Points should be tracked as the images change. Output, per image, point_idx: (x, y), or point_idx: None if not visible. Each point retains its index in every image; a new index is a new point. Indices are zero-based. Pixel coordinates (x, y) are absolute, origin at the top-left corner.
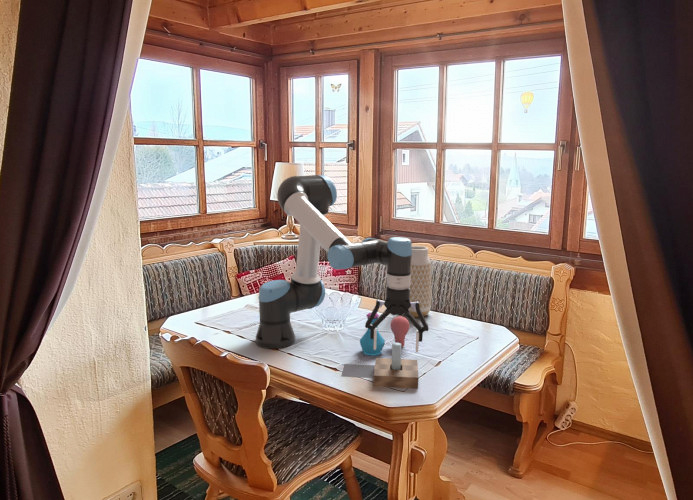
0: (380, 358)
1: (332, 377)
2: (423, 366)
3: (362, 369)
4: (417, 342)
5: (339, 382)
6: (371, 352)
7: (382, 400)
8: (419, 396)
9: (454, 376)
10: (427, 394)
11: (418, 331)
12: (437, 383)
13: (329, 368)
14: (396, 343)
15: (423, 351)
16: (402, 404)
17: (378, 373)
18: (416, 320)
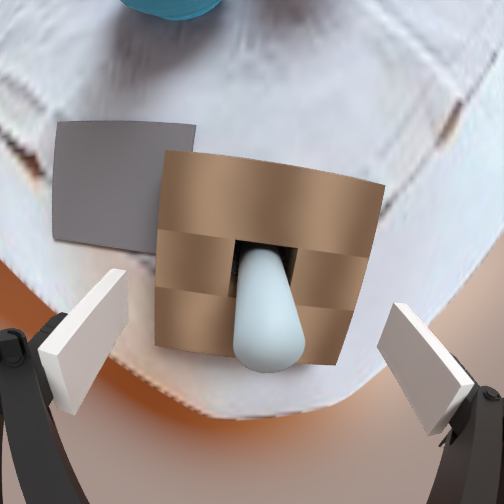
0: (189, 158)
1: (33, 236)
2: (397, 138)
3: (120, 171)
4: (406, 385)
5: (56, 275)
6: (170, 17)
7: (197, 393)
8: (315, 376)
9: (467, 240)
10: (343, 364)
11: (456, 408)
12: (402, 293)
13: (19, 161)
14: (270, 332)
15: (411, 4)
16: (253, 411)
17: (173, 331)
18: (498, 458)
